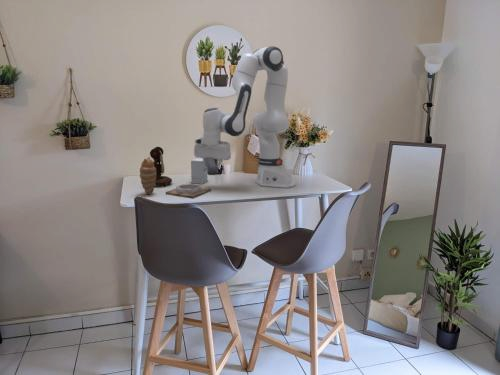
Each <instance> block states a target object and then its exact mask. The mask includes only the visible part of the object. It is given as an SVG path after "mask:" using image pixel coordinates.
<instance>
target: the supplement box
mask: <svg viewBox="0 0 500 375" xmlns="http://www.w3.org/2000/svg"><path fill="white" fill-rule="evenodd" d="M190 171H191V172H190V174H191V175H190V181H191V183H190V184H203V185H204V184H206V182H208V174H207V167H205V163H204V161H203V158H194V159H191V161H190Z"/></svg>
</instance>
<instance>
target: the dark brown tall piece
mask: <svg viewBox="0 0 500 375" xmlns="http://www.w3.org/2000/svg"><path fill="white" fill-rule="evenodd" d="M149 155H150V156H149V157H150V158H151V159H152V160H153V162H154V167H155V168H156V174H157V176H156V181H155V186H161V185H163V186H164V187H165V188H166V186H167V185H169V184H171V183H173V179H172V178H171V177H169V176H166V175H164V174H165V163H164V160H163V158H164V157H163V155H164V149H163V148H162V147H160V146H155V147H154V148H152V149H151V150H150V151H149Z"/></svg>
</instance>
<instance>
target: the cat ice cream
mask: <svg viewBox="0 0 500 375" xmlns="http://www.w3.org/2000/svg"><path fill="white" fill-rule="evenodd" d="M140 164H141V166H140V168H139V178H140V184H141V187H142V188H143V189H144V193H145V194H147V195H151V194H153V192H154V188H155V186H156V185H155V181H156V176H157V174H156V168H155V167H154V160H153V159H151V156H148V157H147V158H144V160H143V161H142V162H141V163H140Z"/></svg>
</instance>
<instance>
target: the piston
mask: <svg viewBox="0 0 500 375" xmlns="http://www.w3.org/2000/svg"><path fill="white" fill-rule="evenodd" d="M218 163H219V161H218V159H214V158H211V157H207V176H217V175H219V168H216V164H218Z"/></svg>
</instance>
